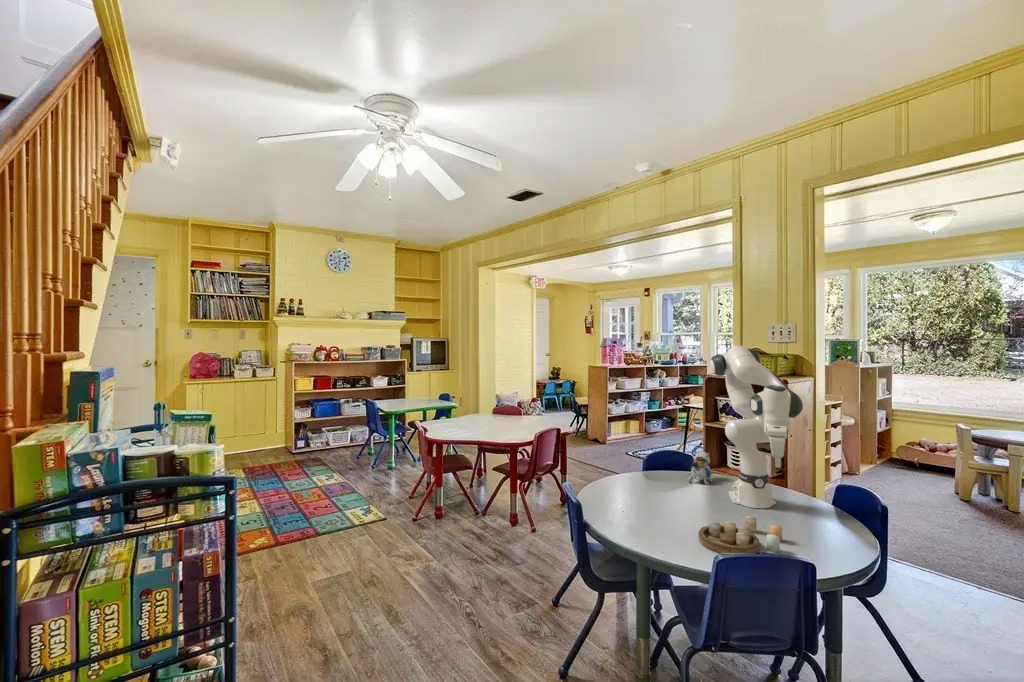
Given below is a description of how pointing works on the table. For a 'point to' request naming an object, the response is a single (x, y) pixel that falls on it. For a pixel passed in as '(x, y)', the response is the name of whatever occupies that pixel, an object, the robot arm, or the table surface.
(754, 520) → the tan egg
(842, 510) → the table surface
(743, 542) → the groove tray
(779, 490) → the table surface
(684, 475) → the table surface
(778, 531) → the orange egg
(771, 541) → the sage green egg
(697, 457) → the robotic toy
